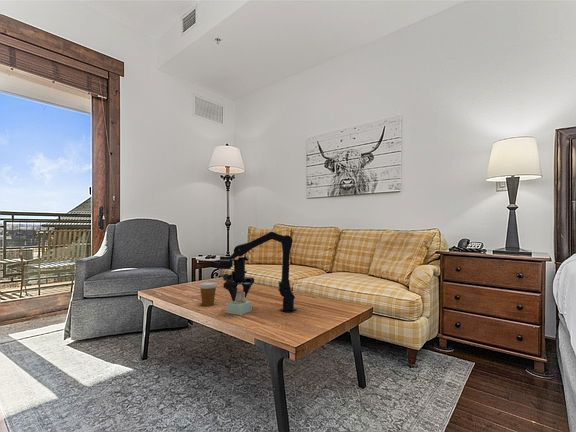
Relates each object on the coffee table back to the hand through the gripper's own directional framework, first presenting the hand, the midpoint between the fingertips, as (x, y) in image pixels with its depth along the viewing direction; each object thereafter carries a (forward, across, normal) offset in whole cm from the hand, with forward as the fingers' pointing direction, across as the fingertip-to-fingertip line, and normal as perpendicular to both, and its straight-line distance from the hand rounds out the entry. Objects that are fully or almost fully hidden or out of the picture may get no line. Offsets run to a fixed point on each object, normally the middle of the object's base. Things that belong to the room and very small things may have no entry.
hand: (239, 299), depth 160 cm
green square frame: (+6, 0, 0) cm, 6 cm away
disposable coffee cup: (+7, -2, -24) cm, 25 cm away
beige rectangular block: (+6, 0, 0) cm, 7 cm away
